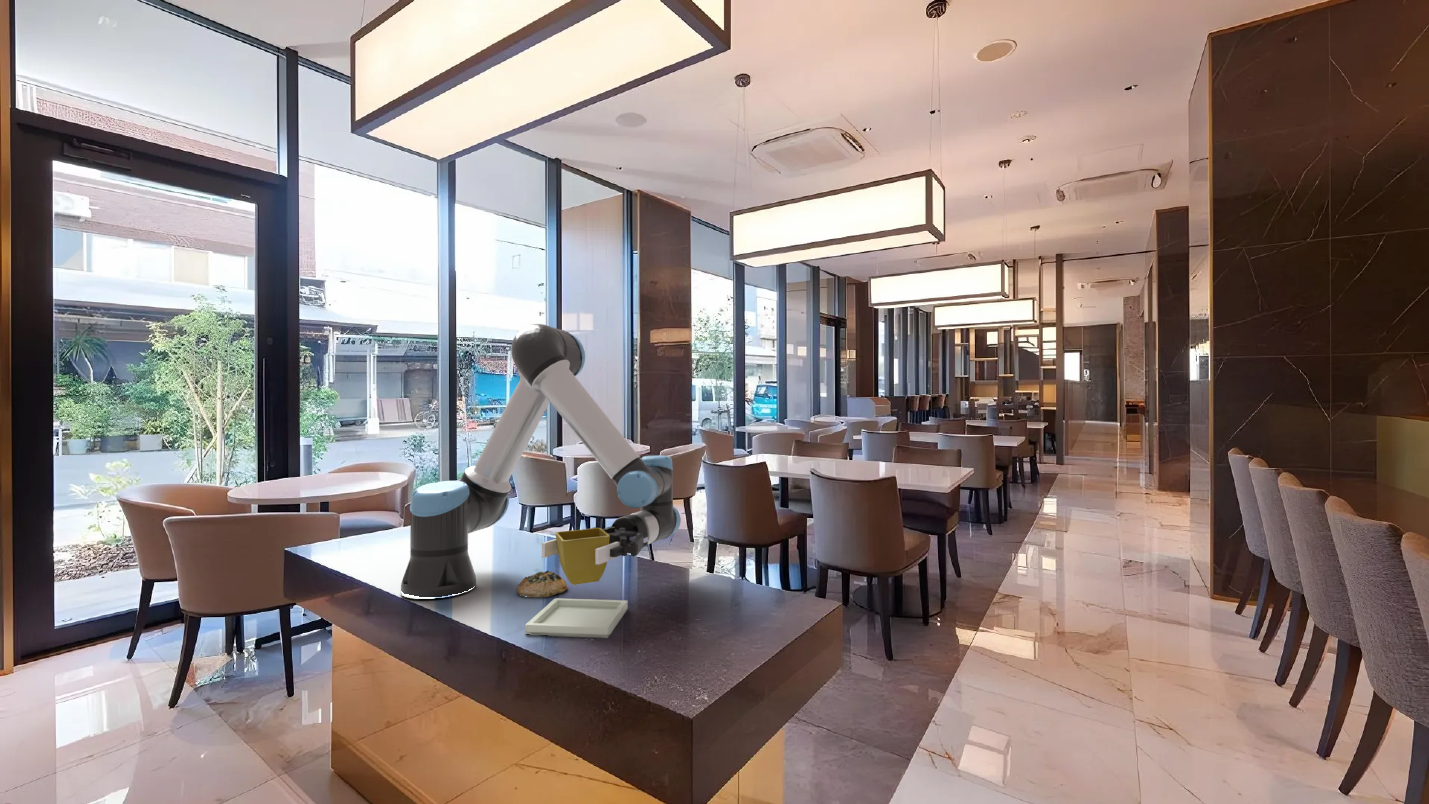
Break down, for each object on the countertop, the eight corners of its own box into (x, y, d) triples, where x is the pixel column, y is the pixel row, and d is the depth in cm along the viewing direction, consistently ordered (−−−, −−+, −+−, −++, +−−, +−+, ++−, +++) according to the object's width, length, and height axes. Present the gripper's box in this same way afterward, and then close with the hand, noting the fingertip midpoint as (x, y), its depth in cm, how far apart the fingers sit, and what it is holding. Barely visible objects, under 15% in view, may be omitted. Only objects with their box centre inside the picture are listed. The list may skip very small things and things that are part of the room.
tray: (525, 634, 106) (525, 624, 106) (554, 607, 121) (555, 598, 121) (607, 638, 105) (607, 627, 105) (627, 609, 120) (627, 600, 120)
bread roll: (537, 581, 139) (539, 560, 139) (576, 593, 135) (579, 571, 135) (503, 596, 129) (506, 574, 129) (545, 610, 125) (548, 587, 125)
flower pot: (562, 590, 107) (562, 540, 107) (555, 577, 115) (554, 531, 115) (610, 584, 111) (610, 535, 111) (600, 572, 119) (600, 527, 119)
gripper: (682, 554, 124) (624, 581, 104) (589, 543, 134) (519, 567, 115) (682, 518, 124) (624, 538, 104) (588, 510, 134) (519, 527, 115)
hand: (569, 553), depth 109 cm, fingers closed on flower pot, 12 cm apart
